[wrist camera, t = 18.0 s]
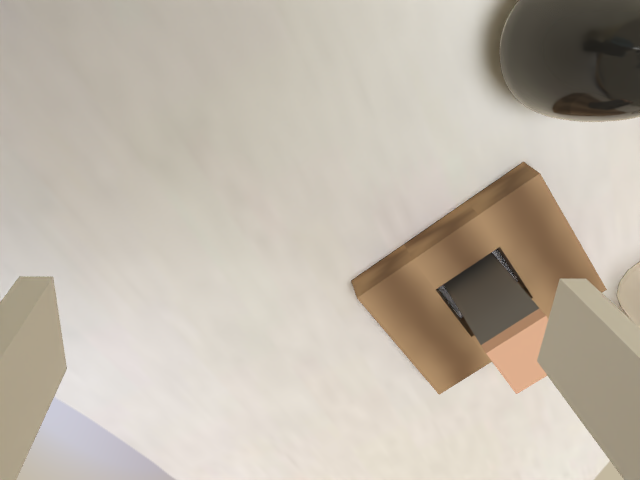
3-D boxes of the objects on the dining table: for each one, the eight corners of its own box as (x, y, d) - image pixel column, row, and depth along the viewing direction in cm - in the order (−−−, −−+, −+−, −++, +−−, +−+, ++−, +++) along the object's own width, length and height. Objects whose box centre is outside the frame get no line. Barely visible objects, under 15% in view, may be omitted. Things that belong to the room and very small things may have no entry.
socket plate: (430, 374, 57) (439, 394, 54) (351, 280, 51) (356, 298, 49) (588, 273, 54) (606, 289, 51) (523, 161, 48) (539, 173, 46)
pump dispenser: (609, 88, 46) (759, 138, 33) (485, 116, 46) (584, 178, 33) (613, -50, 42) (789, -59, 28) (476, -19, 42) (586, -12, 28)
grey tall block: (463, 309, 54) (516, 394, 43) (436, 273, 52) (486, 353, 41) (508, 280, 53) (574, 359, 43) (483, 242, 51) (545, 315, 41)
